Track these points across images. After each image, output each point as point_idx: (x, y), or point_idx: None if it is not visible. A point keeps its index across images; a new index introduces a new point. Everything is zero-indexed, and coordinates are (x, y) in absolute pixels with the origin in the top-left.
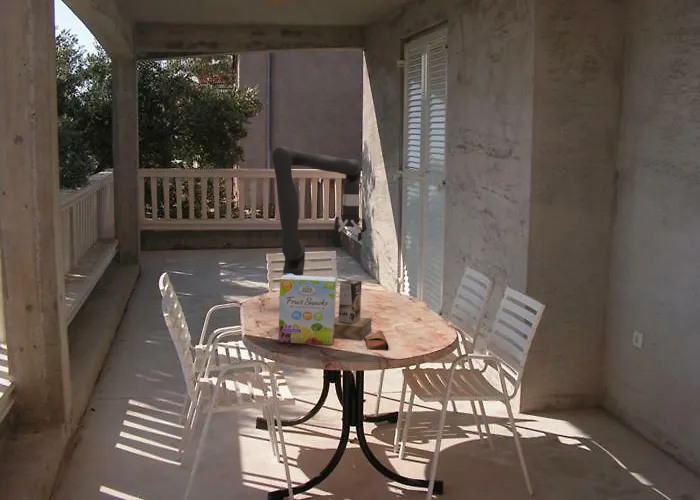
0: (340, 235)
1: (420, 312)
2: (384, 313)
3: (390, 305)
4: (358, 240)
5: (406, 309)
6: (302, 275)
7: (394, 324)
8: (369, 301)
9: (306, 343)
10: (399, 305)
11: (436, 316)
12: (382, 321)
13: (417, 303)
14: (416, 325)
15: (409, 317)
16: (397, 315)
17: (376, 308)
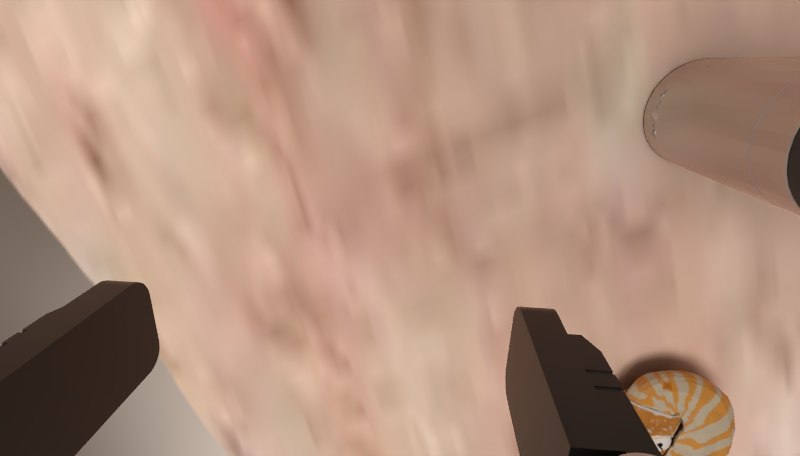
0: (557, 366)
1: None
2: (265, 216)
3: (290, 361)
4: (118, 282)
5: (210, 316)
6: (786, 140)
7: (147, 8)
8: (387, 401)
9: None
10: (258, 371)
11: (60, 237)
12: (219, 51)
13: (210, 419)
14: (54, 30)
15: (145, 179)
16: (203, 199)
17: (325, 295)
